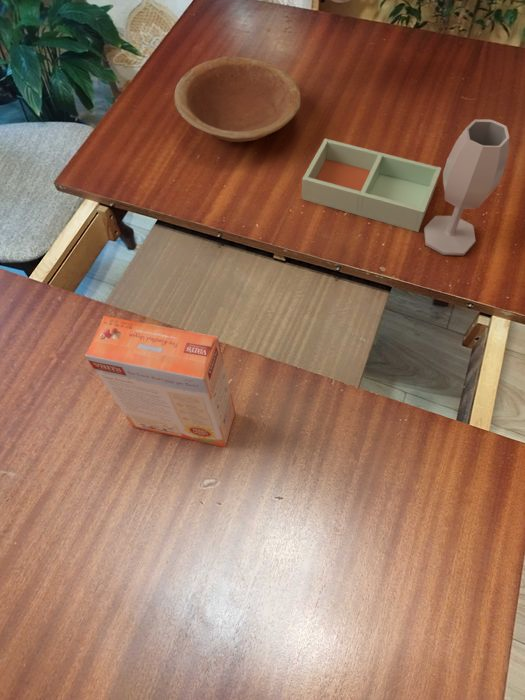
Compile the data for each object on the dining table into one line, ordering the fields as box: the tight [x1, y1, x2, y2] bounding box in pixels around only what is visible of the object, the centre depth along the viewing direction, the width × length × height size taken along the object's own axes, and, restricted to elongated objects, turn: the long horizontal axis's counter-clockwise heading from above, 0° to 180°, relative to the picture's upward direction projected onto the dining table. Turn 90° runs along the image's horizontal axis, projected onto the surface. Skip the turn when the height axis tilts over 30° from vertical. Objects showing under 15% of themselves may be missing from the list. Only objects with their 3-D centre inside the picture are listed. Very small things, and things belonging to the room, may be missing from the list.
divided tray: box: [301, 138, 442, 233], centre depth 95 cm, size 21×11×5 cm, turn 66°
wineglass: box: [423, 119, 510, 256], centre depth 83 cm, size 9×9×21 cm
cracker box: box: [84, 315, 236, 448], centre depth 68 cm, size 14×6×21 cm, turn 76°
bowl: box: [173, 55, 302, 143], centre depth 105 cm, size 24×24×8 cm
